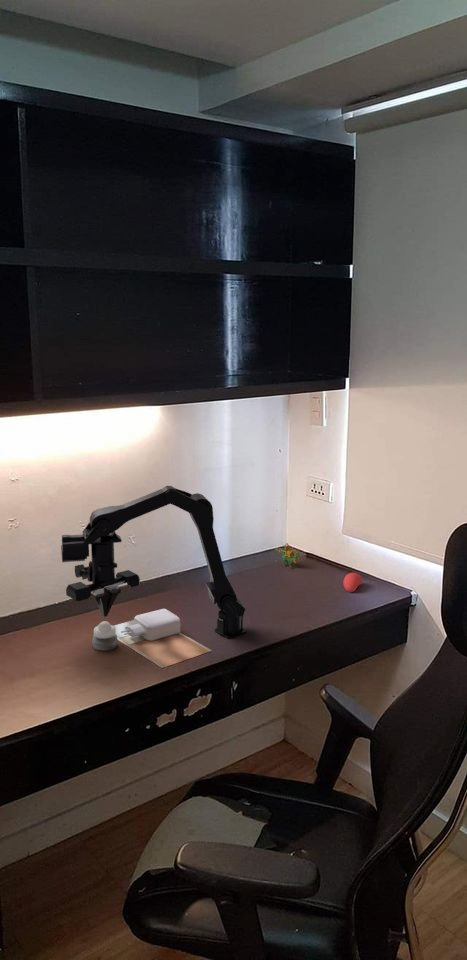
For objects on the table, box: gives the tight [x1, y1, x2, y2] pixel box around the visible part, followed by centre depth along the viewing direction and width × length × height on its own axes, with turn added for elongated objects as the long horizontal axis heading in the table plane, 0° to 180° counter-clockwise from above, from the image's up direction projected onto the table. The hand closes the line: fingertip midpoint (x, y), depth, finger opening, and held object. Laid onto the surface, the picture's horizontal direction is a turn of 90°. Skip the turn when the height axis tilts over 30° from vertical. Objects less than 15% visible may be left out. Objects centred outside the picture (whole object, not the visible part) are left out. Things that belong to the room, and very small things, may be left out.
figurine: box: [274, 543, 301, 570], centre depth 258 cm, size 3×12×8 cm, turn 42°
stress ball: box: [343, 572, 363, 593], centre depth 239 cm, size 5×9×6 cm, turn 142°
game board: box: [92, 619, 213, 669], centre depth 197 cm, size 23×29×2 cm
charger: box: [121, 608, 181, 641], centre depth 202 cm, size 5×9×15 cm
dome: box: [93, 620, 116, 639], centre depth 195 cm, size 6×6×3 cm
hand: (104, 616), depth 194 cm, fingers closed
